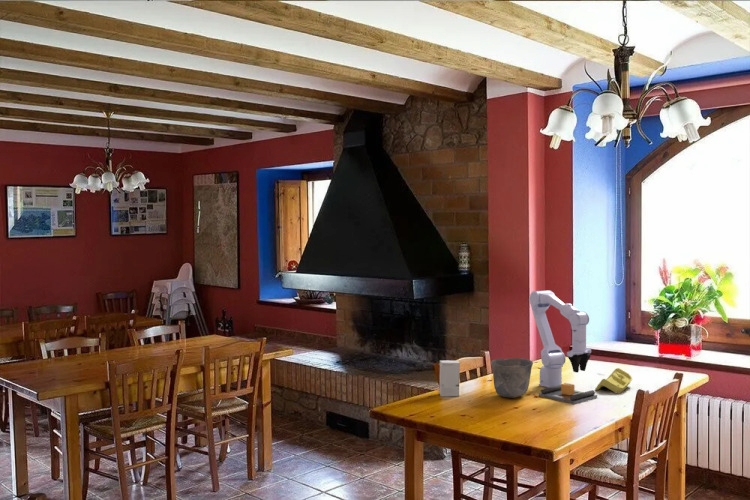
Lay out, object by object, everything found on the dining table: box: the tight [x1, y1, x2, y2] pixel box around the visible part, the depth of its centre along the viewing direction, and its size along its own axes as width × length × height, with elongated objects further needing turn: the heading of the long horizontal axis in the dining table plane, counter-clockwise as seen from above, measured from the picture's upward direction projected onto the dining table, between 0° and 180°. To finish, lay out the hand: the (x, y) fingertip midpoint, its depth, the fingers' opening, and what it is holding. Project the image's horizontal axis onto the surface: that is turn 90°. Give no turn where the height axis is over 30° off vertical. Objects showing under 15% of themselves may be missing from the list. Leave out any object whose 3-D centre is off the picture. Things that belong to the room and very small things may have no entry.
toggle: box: [561, 382, 575, 395], centre depth 296 cm, size 4×3×4 cm
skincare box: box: [438, 359, 461, 398], centre depth 301 cm, size 8×6×15 cm
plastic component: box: [595, 367, 633, 394], centre depth 311 cm, size 20×7×10 cm
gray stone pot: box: [490, 357, 534, 399], centre depth 298 cm, size 18×18×15 cm
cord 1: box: [540, 385, 561, 394], centre depth 301 cm, size 2×15×2 cm, turn 128°
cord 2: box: [570, 389, 596, 400], centre depth 290 cm, size 2×15×2 cm, turn 128°
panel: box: [538, 389, 598, 405], centre depth 296 cm, size 18×16×1 cm
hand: (579, 371), depth 300 cm, fingers open, 4 cm apart
